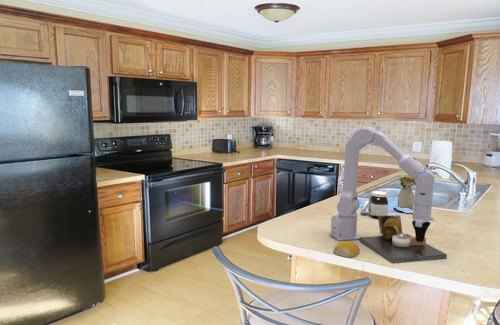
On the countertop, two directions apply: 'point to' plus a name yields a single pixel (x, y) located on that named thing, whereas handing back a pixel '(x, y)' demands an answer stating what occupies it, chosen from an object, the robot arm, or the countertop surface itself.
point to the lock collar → (406, 241)
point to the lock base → (401, 250)
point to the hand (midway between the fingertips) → (419, 241)
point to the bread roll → (346, 249)
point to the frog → (406, 193)
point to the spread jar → (377, 204)
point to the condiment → (390, 226)
